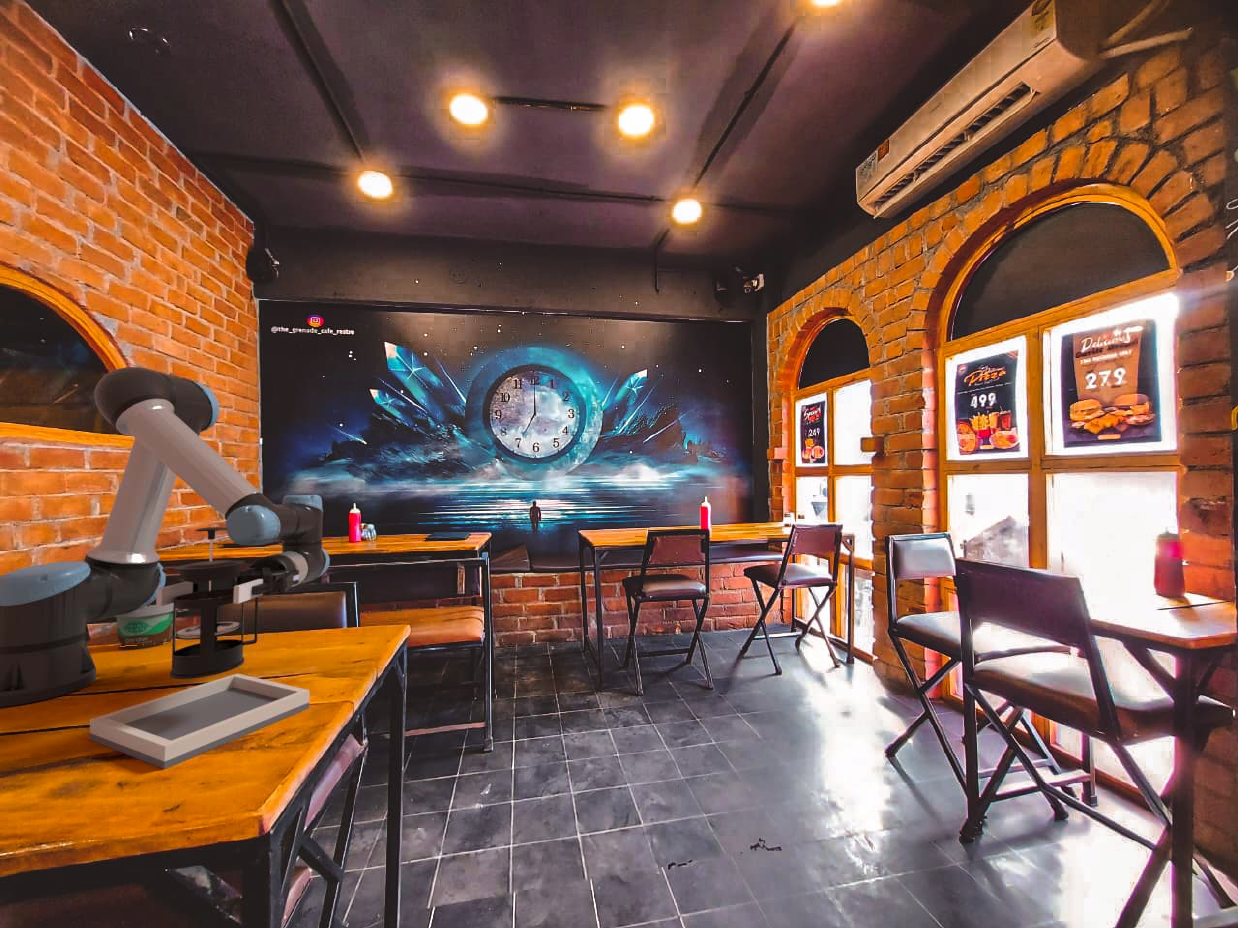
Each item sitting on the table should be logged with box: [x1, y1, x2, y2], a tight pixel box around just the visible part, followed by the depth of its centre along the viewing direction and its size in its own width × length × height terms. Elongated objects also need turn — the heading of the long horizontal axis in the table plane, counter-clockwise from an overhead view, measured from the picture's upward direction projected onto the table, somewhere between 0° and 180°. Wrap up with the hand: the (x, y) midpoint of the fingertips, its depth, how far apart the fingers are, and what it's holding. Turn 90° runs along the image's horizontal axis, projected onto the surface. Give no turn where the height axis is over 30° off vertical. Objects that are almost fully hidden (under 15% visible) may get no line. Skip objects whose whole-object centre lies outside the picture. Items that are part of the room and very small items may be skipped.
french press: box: [169, 526, 259, 680], centre depth 81 cm, size 12×9×23 cm
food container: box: [113, 603, 179, 651], centre depth 119 cm, size 12×6×10 cm, turn 123°
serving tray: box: [88, 673, 311, 770], centre depth 80 cm, size 20×20×3 cm
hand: (198, 596), depth 77 cm, fingers closed on french press, 10 cm apart
